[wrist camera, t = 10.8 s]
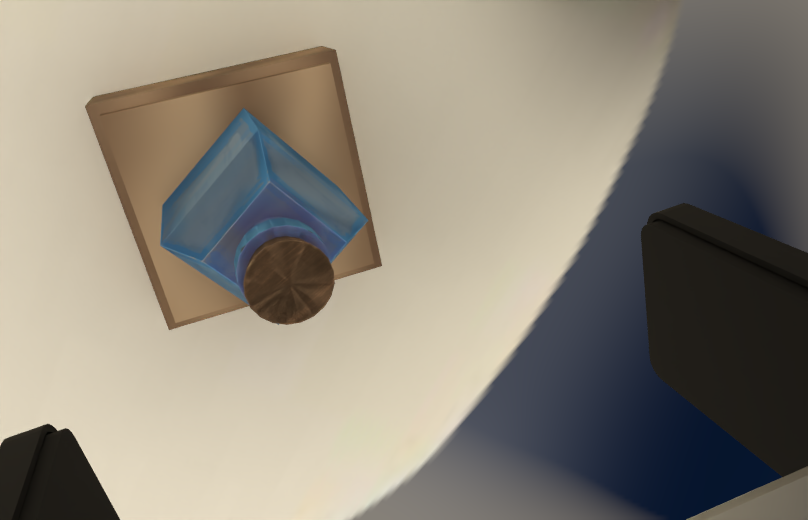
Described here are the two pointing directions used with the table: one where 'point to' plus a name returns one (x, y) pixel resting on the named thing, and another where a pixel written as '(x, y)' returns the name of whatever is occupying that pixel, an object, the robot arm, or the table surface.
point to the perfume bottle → (261, 223)
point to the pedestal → (198, 130)
